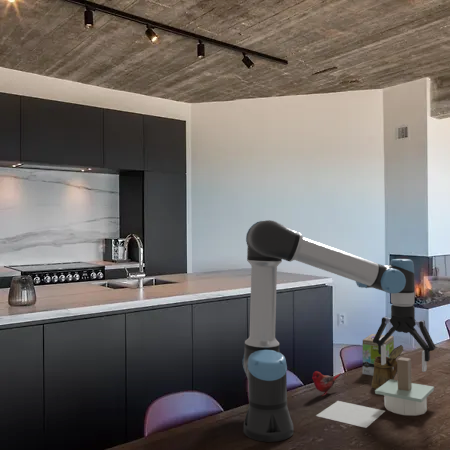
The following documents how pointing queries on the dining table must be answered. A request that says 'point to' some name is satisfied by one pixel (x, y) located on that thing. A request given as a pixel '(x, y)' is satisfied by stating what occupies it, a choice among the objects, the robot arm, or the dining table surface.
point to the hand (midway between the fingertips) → (403, 367)
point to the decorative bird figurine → (323, 381)
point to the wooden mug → (385, 368)
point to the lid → (404, 384)
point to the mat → (351, 414)
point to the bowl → (405, 406)
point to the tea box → (374, 352)
